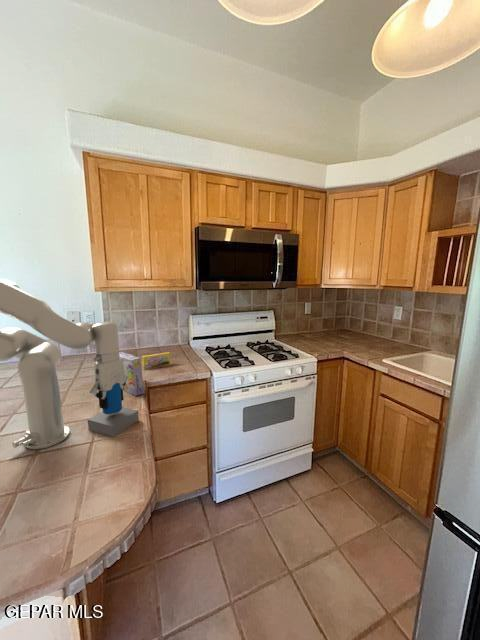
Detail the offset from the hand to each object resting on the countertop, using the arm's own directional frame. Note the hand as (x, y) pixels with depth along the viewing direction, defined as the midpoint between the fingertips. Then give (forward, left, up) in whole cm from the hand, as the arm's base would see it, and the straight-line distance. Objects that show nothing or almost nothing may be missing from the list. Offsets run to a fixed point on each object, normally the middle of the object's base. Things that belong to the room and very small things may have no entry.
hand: (111, 403), depth 99 cm
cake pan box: (+26, +19, -9) cm, 34 cm away
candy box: (+59, +30, -9) cm, 67 cm away
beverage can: (0, 0, -3) cm, 3 cm away
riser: (0, 0, -8) cm, 8 cm away
